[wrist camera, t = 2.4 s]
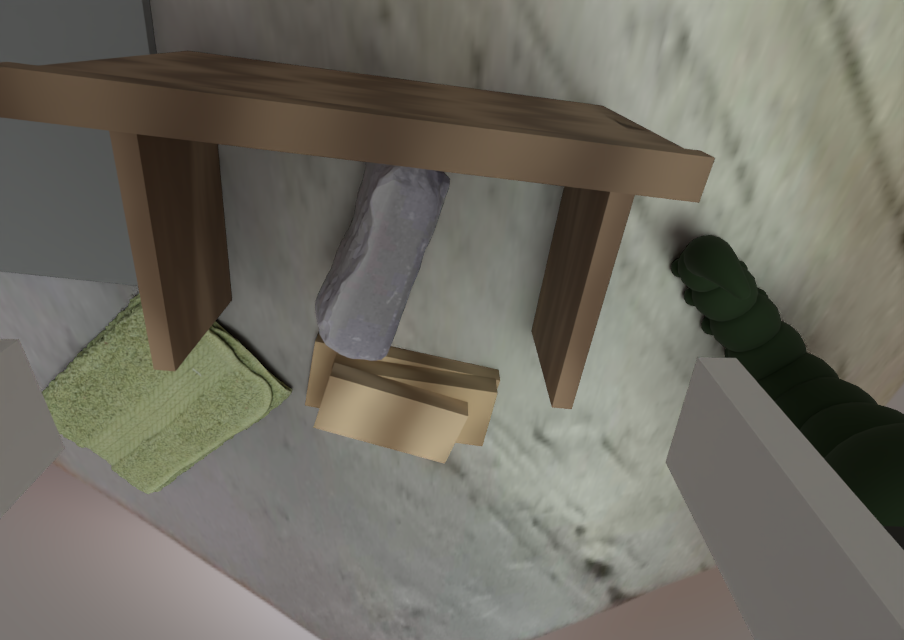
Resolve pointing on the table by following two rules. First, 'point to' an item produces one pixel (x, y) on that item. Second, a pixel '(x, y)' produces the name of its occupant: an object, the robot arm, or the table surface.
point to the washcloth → (158, 400)
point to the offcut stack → (402, 400)
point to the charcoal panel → (66, 147)
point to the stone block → (379, 259)
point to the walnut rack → (351, 138)
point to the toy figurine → (798, 378)
